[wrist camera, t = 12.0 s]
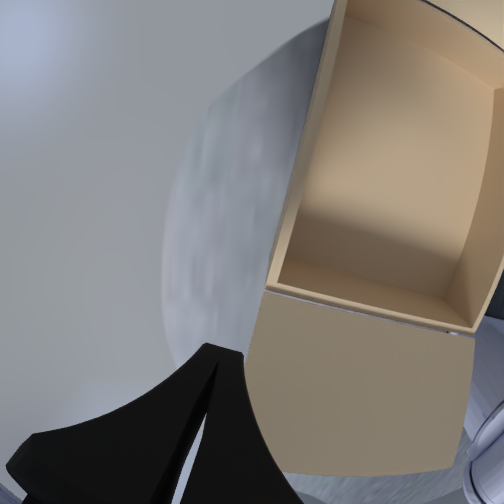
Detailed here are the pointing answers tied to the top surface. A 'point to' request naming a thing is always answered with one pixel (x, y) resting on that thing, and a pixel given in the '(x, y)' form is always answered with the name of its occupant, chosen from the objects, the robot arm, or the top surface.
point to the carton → (398, 171)
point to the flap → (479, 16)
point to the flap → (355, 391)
